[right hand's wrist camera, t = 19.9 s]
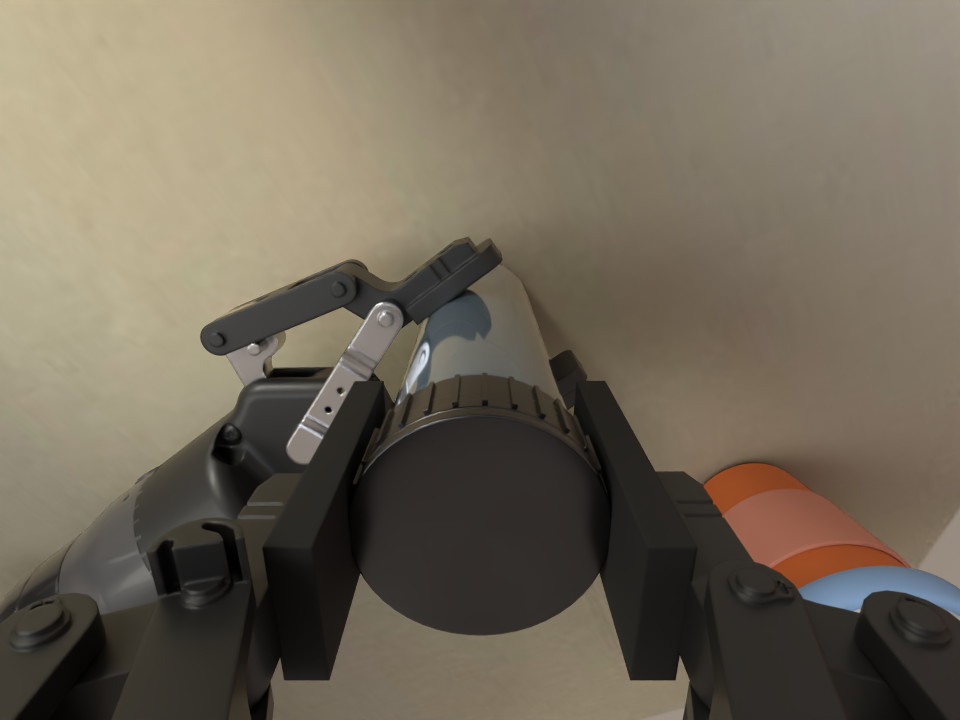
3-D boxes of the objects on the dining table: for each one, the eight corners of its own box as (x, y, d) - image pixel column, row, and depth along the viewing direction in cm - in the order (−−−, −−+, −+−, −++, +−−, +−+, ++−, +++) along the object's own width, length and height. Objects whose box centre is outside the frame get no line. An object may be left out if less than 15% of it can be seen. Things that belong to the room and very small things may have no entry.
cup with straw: (819, 570, 32) (1209, 1047, 15) (659, 582, 32) (862, 1064, 15) (839, 429, 28) (1368, 829, 11) (662, 444, 29) (922, 855, 12)
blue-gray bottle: (545, 327, 27) (632, 550, 12) (461, 370, 27) (438, 632, 12) (500, 240, 25) (529, 365, 10) (412, 289, 26) (318, 473, 11)
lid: (360, 564, 13) (341, 629, 11) (365, 360, 11) (343, 398, 10) (577, 580, 13) (592, 647, 12) (614, 381, 12) (640, 424, 10)
